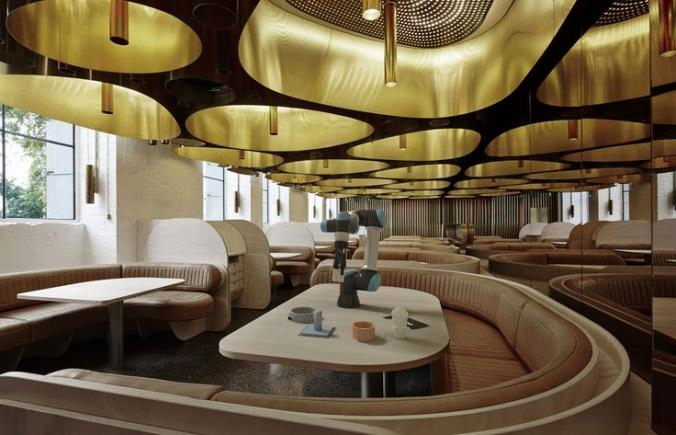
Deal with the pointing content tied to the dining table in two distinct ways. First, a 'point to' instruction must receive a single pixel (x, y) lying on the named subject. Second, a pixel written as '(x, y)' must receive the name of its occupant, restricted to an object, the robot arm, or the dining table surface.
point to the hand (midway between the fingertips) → (337, 281)
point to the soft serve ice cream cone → (399, 321)
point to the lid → (317, 327)
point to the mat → (317, 336)
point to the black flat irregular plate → (415, 323)
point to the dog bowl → (302, 314)
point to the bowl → (363, 331)
